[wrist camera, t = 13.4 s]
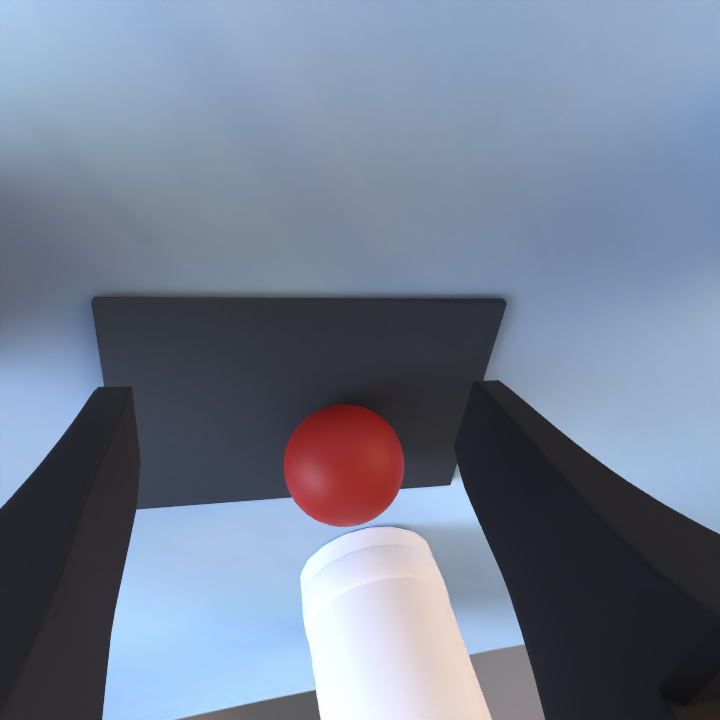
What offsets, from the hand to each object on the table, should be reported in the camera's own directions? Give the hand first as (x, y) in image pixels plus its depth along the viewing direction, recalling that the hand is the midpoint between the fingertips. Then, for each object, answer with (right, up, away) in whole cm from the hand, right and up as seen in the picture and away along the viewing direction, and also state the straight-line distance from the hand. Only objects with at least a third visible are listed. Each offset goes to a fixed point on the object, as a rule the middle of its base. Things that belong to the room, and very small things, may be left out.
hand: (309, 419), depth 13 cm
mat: (-1, -1, +14) cm, 14 cm away
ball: (0, -2, +14) cm, 14 cm away
